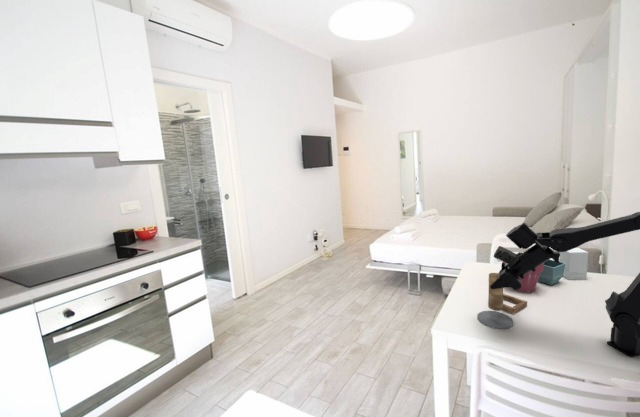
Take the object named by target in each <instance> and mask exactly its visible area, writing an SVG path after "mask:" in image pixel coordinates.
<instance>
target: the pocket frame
mask: <svg viewBox="0 0 640 417" xmlns="http://www.w3.org/2000/svg"><path fill="white" fill-rule="evenodd" d="M503 301H506V302H509V303H512V304H514V305H513V306H511V305H507V304H505V303H503V310H502V311H504V312H506V313H509V314H511V315H516V314H517V313H519V312H520V311H523V309H525V308H527V307H528V301H527V300H524V299H521V298H518V297H515V296H512V295H509V294H505V293H503Z"/></svg>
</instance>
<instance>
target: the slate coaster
mask: <svg viewBox="0 0 640 417" xmlns="http://www.w3.org/2000/svg"><path fill="white" fill-rule="evenodd" d="M477 320H478V321H479V322H480V323H481V324H483V325H484V326H486V327H489V328H492V329H498V330H506V329H510V328H513V326H514V319H513V318H512V317H511V316H509V315H507V314H506V313H504V312H500V311H495V310H482V311H480V312H478V313H477Z"/></svg>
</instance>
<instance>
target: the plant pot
mask: <svg viewBox="0 0 640 417" xmlns="http://www.w3.org/2000/svg"><path fill="white" fill-rule="evenodd" d="M502 262H503V263H504V264H505V263H506V262H504V261H502ZM543 268H544V263H543V264H541V265H540V266H538V267H537V268H536V271H534V272H533V271H531V272H529V273H527V274H526V275H525V278H523V279H521V278H520V277H519V276H518V277H519V278H520V279H521V280H522V281H521V288H520V289H519V290H517V291H516V292H519V293H520V292H521V293H533V292H534V291H535V289H536V286H537V283H538V282H539V281H538V278H539V275H540V272H542V271H543ZM509 289H512V288H511V287H509Z"/></svg>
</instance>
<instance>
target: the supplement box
mask: <svg viewBox="0 0 640 417" xmlns="http://www.w3.org/2000/svg"><path fill="white" fill-rule="evenodd" d="M559 253H560V257H559V262H562V263H565V268H564V273H563V276H562V277H563V278H565V279H566V280H569V281H571V280H572V281H575V280H577V281H578V280H579V281H581V280H583V281H584V280H585V281H586V280H587V278H588V277H587V275H588V262H589V251H586V250H584V249H582V248H579V247H576V248H574V249H571V250H569V251H566V252H559Z"/></svg>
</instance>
